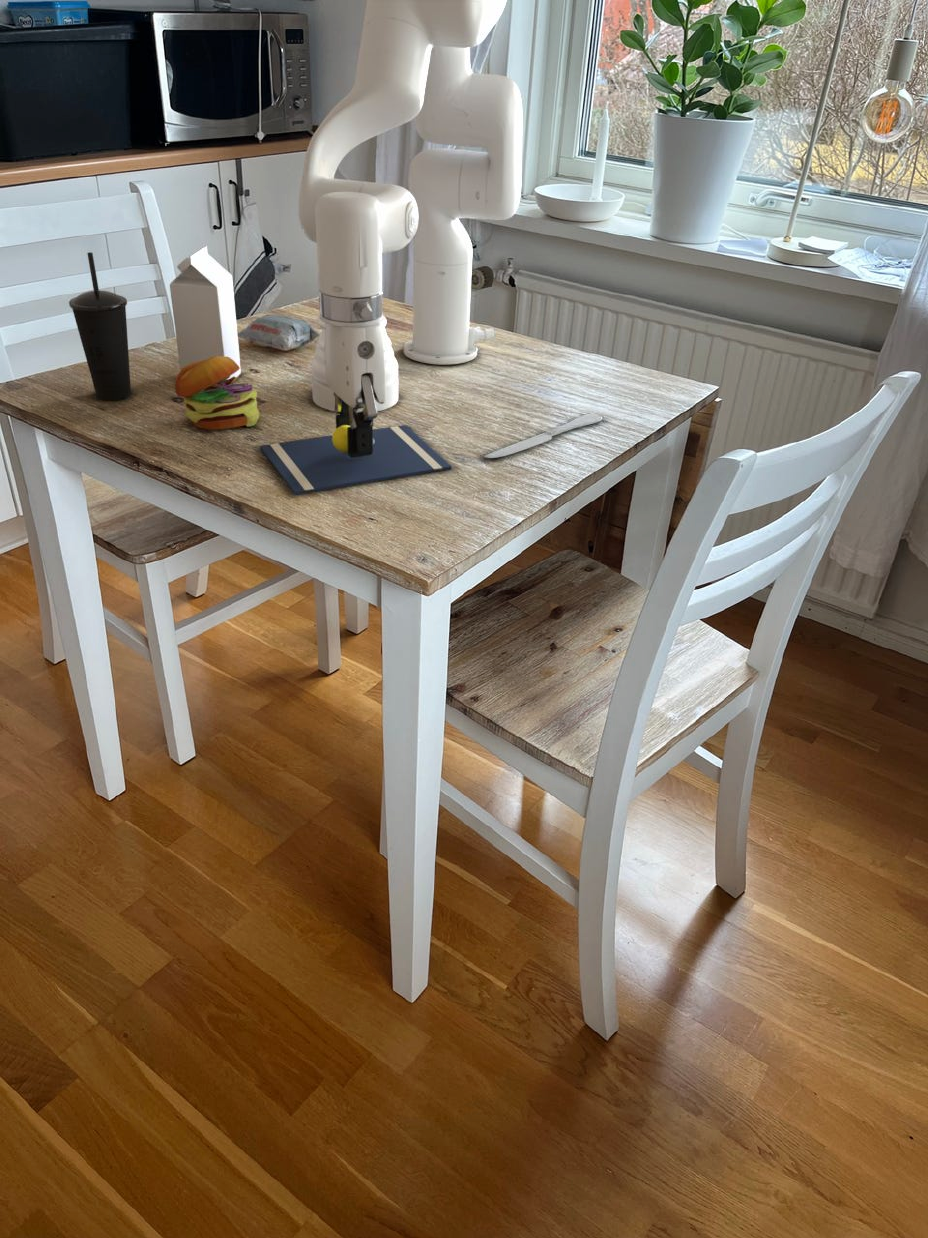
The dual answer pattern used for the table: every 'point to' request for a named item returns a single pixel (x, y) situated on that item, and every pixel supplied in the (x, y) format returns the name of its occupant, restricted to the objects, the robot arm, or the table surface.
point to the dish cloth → (352, 460)
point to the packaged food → (279, 332)
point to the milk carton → (204, 311)
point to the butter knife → (546, 435)
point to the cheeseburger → (216, 395)
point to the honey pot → (326, 395)
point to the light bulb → (341, 438)
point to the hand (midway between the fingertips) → (354, 447)
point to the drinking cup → (104, 338)
